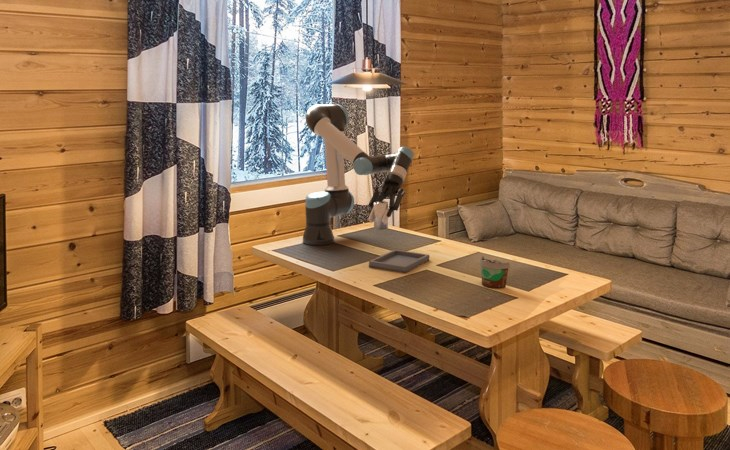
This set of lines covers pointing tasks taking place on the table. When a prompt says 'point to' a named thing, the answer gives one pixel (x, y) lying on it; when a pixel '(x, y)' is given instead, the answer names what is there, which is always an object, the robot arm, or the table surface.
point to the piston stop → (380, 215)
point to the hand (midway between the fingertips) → (376, 221)
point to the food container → (494, 273)
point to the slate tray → (399, 261)
